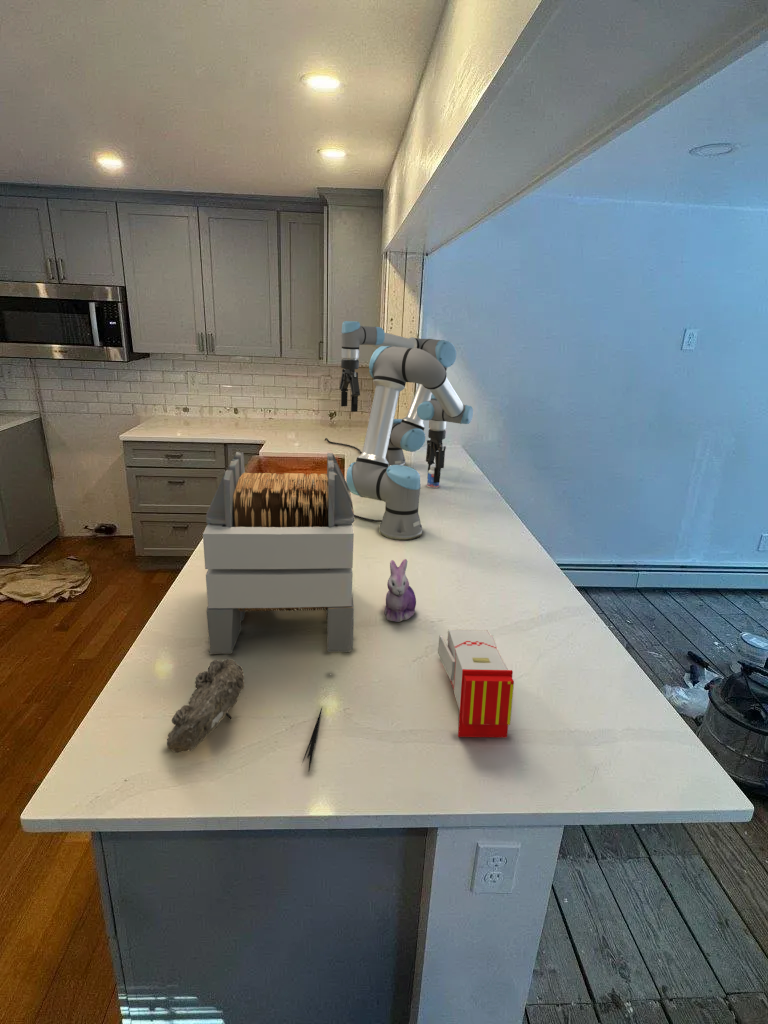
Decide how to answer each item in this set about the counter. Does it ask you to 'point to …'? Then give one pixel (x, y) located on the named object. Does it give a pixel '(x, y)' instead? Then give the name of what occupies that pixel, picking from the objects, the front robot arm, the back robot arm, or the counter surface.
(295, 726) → the counter surface
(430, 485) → the pill bottle
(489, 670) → the toy
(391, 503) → the front robot arm
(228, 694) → the fossil
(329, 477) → the record crate stand
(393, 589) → the figurine
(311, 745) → the feather
